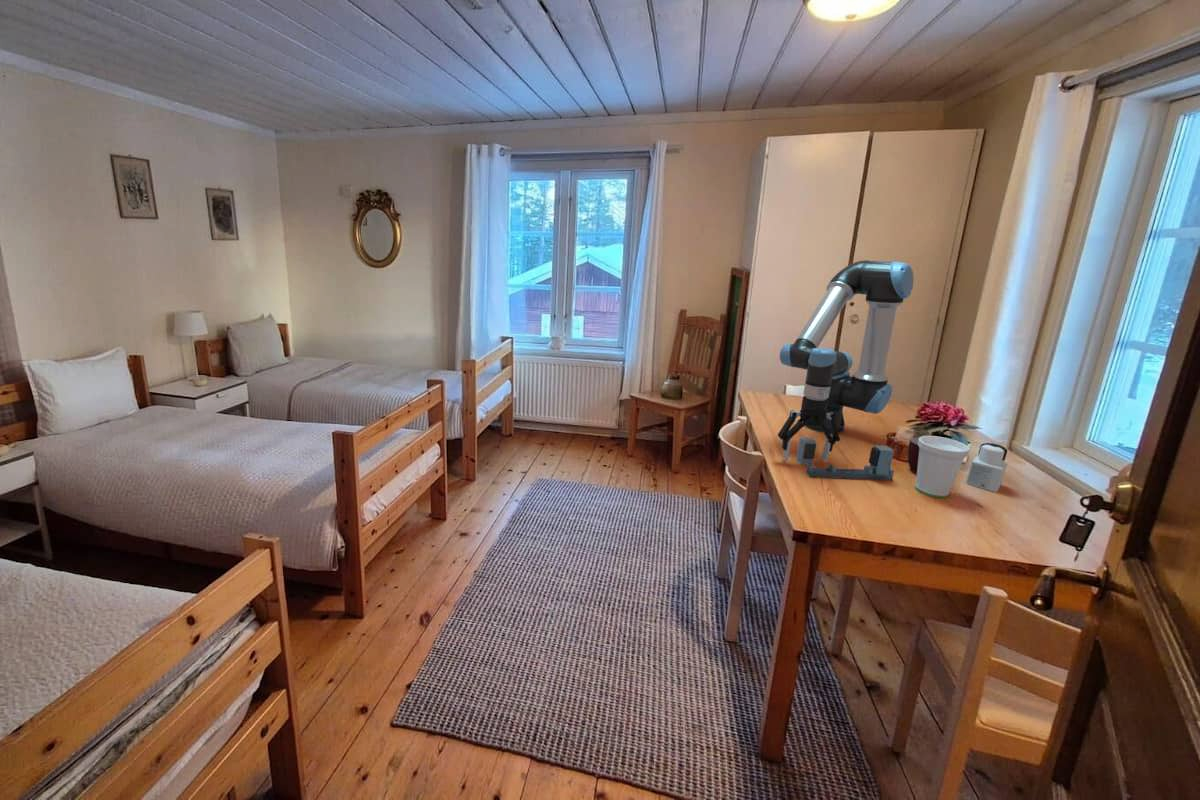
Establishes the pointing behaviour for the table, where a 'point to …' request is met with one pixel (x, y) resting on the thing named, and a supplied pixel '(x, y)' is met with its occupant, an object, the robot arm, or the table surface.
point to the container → (988, 467)
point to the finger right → (806, 451)
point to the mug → (913, 454)
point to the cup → (938, 464)
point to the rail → (875, 471)
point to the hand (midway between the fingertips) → (804, 459)
